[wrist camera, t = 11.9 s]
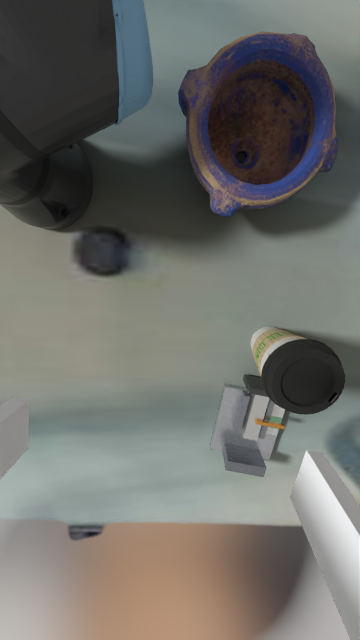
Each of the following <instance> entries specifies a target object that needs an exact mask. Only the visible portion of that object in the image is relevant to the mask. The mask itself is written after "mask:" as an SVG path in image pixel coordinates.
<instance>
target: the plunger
mask: <svg viewBox="0 0 360 640" xmlns="http://www.w3.org/2000/svg"><path fill="white" fill-rule="evenodd" d="M243 381H244V383H245V385H246V387H247V389H248V392H249V394H250V399H249V403H248V406H247V410H246V414H245V417H244V421H243V425H242V428H241V433H242V436H243V438H245V439H250V440H256V441H257V439H258V436H259V433H260V429H261V426H262V425H263V426H269V427H274V428H280V429H284V427H285V426H284V425H283V424H278V423H273V422H267V421H263V419H264V416H265V412H266V409H267V406H268V402H269V397H268V396H267V395H266V393H265V392H264V389H263V386H262V382H261V377H255V376H250V375H244V377H243Z"/></svg>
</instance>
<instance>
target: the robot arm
mask: <svg viewBox="0 0 360 640" xmlns="http://www.w3.org/2000/svg"><path fill="white" fill-rule="evenodd" d="M152 87H153V66H152V56H151V47H150V40H149V33H148V26H147V20H146V14H145V8H144V3H143V0H0V205H2V206H3V207H4V208H5V209H7V210H8V211H9V212H10V213H11V214H13V215H14V216H15V217H17V218H18V219H20V220H21V221H23V222H25V223H27V224H30V225H32V226H36V227H40V228H44V229H60V228H64V227H67V226H69V225H71V224H72V223H74V222H75V221H76V220H78V219H79V218H80V217H81V215H82V214H83V213H84V211H85V210H86V208H87V206H88V203H89V200H90V197H91V192H92V176H91V170H90V167H89V164H88V161H87V159H86V157H85V155H84V153H83V151H82V150H81V148H80V147H79V146H78V144H77V143H76V142H78V141H80V140H82V139H84V138H86V137H88V136H90V135H92V134H94V133H96V132H98V131H100V130H103V129H105V128H107V127H109V126H111V125H113V124H115V125H119V124H120V123H121V122H122V120H123V119H124V118H126V117H128V116H129V115H131V114H133V113H135V112H136V111H138V110H140V109H142V108H143V107H144V106H145V105H146V104H147V103H148V101H149V99H150V96H151V93H152ZM28 420H29V400H28V399H22V398H17V397H12V398H10V399H9V400H8V401H6V402H5V403H4V404H2V405H1V406H0V479H1V478H2V477H3V476H4V475H5V473H6V472H7V471H8V470H9V469H10V468H11V467H12V466H13V465H14V464H15V462H16V461H17V460H18V459H19V458H20V457H21V456H22V455H23V454H24V452H25V451H26V450H27V449H28ZM290 498H291V500H292V503H293V505H294V507H295V510H296V512H297V514H298V517H299V519H300V521H301V524H302V526H303V528H304V531H305V533H306V535H307V538H308V540H309V543H310V545H311V547H312V549H313V552H314V554H315V557H316V559H317V561H318V564H319V566H320V569H321V571H322V573H323V575H324V578H325V580H326V583H327V585H328V587H329V589H330V592H331V594H332V597H333V599H334V602H335V604H336V606H337V608H338V611H339V613H340V616H341V618H342V620H343V623H344V625H345V628H346V630H347V632H348V635H349V637H350V639H351V640H360V505H359V504H358V502H357V501H356V500H355V498H354V497H353V495H352V494H351V492H350V491H349V490H348V488H347V487H346V485H345V484H344V482H343V481H342V480H341V478H340V477H339V475H338V474H337V472H336V471H335V470H334V468H333V467H332V465H331V464H330V462H329V461H328V460H327V458H326V457H325V455H324V454H323V453H319V452H314V451H308V450H307V451H306V453H305V456H304V459H303V462H302V465H301V468H300V470H299V473H298V476H297V479H296V482H295V484H294V487H293V490H292V493H291V496H290Z"/></svg>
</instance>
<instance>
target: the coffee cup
mask: <svg viewBox="0 0 360 640" xmlns="http://www.w3.org/2000/svg"><path fill="white" fill-rule="evenodd" d="M251 348H252V351H253V356H254V359H255V362H256V365H257V368H258V370H259V373H260V376H261V382H262V386H263V389H264V392H265V393H266V395H267V396H268V397H269V399H270V400H271V401H272V402H274V403H275V404H276V405H278V406H279V407H281V408H283V409H286V410H288V411H290V412H293V413H297V414H314V413H317V412H320V411H322V410H325V409H327V408H328V407H329V406H331V405H332V404H333V403H334V402H335V401H336V400H337V399H338V398H339V396H340V395H341V393H342V390H343V388H344V383H345V374H344V371H343V368H342V365H341V362H340V360H339V358H338V356H337V355H336V354H335V353H334V351H333V350H332V349H331V348H329V347H328V346H327V345H325V344H324V343H321V342H319V341H316V340H312V339H306V338H303V337H301V336H298V335H295V334H293V333H290V332H287V331H285V330H281V329H278V328H275V327H270V326H267V327H263V328H260V329H259V330H257V331H256V332H255V333H254V334H253V336H252V339H251Z"/></svg>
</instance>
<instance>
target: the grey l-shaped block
mask: <svg viewBox="0 0 360 640" xmlns="http://www.w3.org/2000/svg"><path fill="white" fill-rule="evenodd" d="M249 399H250V394H249V392H248V389H247V388H245V387H239V386H234V385H228V384H224V388H223V392H222V396H221V400H220V404H219V408H218V413H217V417H216V421H215V425H214V429H213V433H212V438H211V442H210V449H213V450H219V451H223V457H224V463H225V469H226V470H228V471H234V472H239V473H244V474H250V475H255V476H260V477H264V474H265V471H266V466H265V463H264V460H263V459H267V460H269V459H270V456H271V453H272V450H273V447H274V443H275V440H276V437H277V434H278V431H279V428H274V427H269V426H263V425H262V426H261V429H260V433H259V436H258V439H257V441H256V440H250V439H245V438H243V436H242V433H241V428H242V425H243V421H244V417H245V414H246V410H247V406H248V403H249ZM284 412H285V409H283V408H281V407H279V406H278V405H276V404H275V403H274V402H272V401H271V400H270V399H269V402H268V406H267V409H266V412H265V416H264V419H263V421H267V422H273V423H278V424H281V421H282V418H283V415H284Z"/></svg>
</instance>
